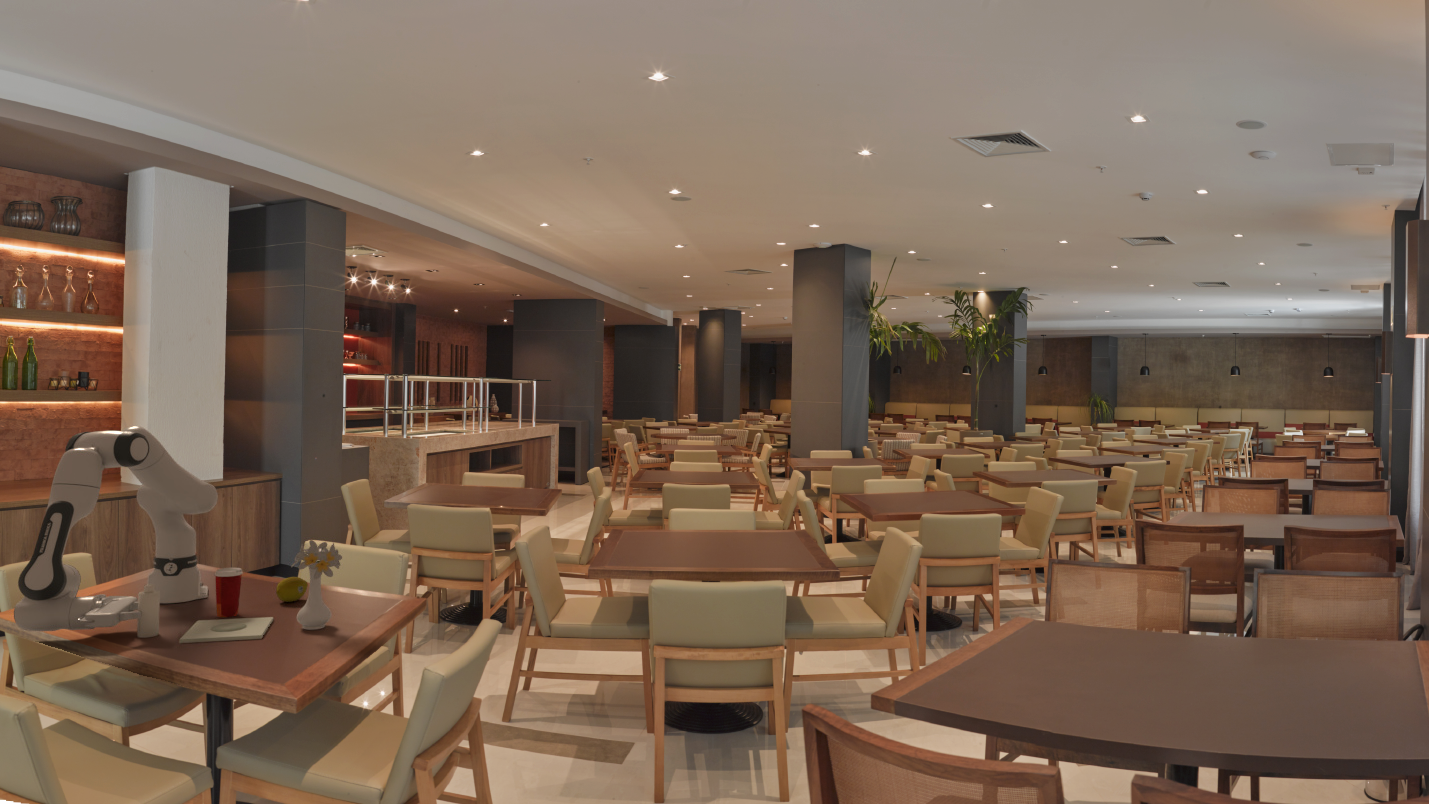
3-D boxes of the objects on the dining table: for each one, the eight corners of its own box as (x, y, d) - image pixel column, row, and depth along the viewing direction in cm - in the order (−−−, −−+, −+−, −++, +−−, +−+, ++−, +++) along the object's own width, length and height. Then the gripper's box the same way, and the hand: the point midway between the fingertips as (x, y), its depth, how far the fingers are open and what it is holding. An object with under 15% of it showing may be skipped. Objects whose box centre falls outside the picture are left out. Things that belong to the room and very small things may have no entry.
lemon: (281, 606, 275) (282, 581, 274) (269, 602, 279) (270, 577, 279) (314, 600, 283) (314, 576, 283) (301, 596, 288) (302, 572, 288)
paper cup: (247, 612, 265) (248, 567, 265) (230, 619, 258) (232, 572, 258) (223, 611, 266) (225, 566, 266) (206, 617, 258) (208, 571, 258)
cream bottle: (140, 633, 240) (141, 583, 240) (160, 632, 242) (162, 582, 242) (134, 638, 235) (136, 587, 235) (155, 637, 237) (157, 586, 237)
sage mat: (197, 623, 251) (197, 619, 251) (273, 620, 258) (273, 616, 258) (179, 643, 232) (179, 638, 232) (261, 638, 239) (261, 634, 239)
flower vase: (306, 638, 241) (309, 549, 241) (280, 625, 253) (283, 540, 253) (352, 630, 250) (354, 545, 250) (325, 617, 263) (327, 536, 263)
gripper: (73, 610, 224) (135, 608, 229) (101, 592, 243) (157, 590, 248) (72, 634, 224) (134, 631, 229) (100, 614, 244) (156, 612, 248)
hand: (146, 610), depth 238 cm, fingers open, 8 cm apart
